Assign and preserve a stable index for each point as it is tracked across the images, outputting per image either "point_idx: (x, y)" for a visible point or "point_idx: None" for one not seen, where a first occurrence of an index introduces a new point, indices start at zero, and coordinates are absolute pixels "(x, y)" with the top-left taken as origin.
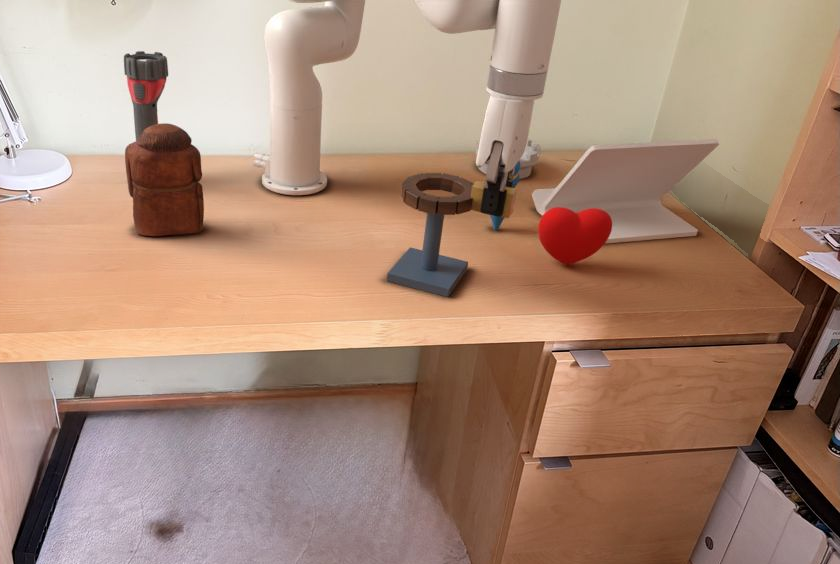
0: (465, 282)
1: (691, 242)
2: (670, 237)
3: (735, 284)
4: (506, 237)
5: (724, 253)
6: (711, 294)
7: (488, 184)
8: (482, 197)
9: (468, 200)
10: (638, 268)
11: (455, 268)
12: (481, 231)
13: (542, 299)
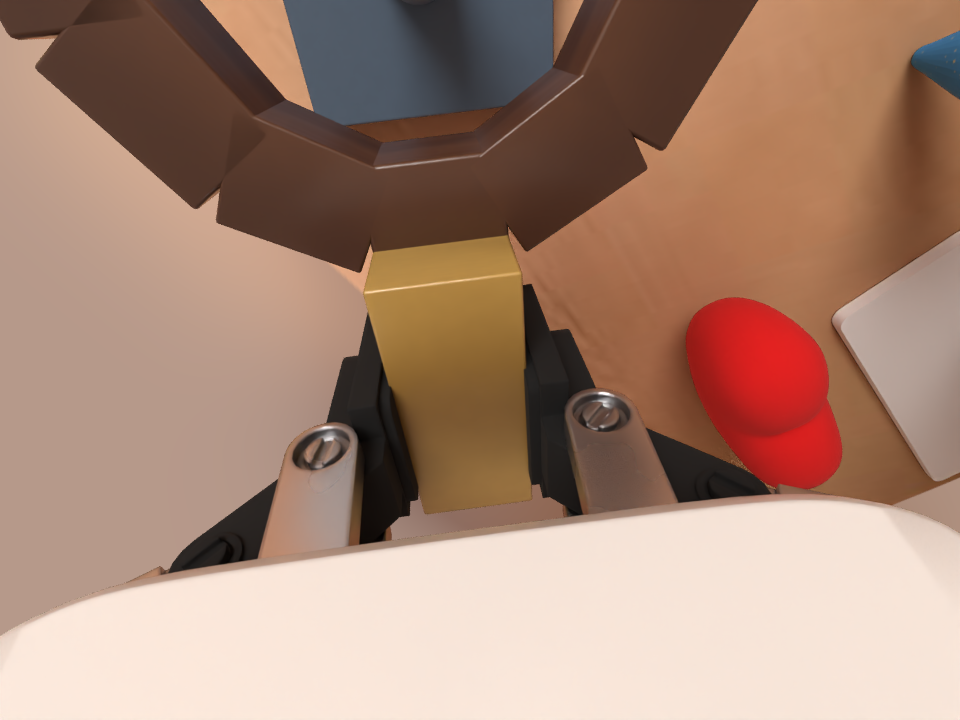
0: (459, 130)
1: (891, 474)
2: (910, 447)
3: None
4: (853, 120)
5: None
6: None
7: (245, 511)
8: (359, 355)
9: (320, 257)
10: None
11: (474, 78)
12: (897, 3)
13: None
